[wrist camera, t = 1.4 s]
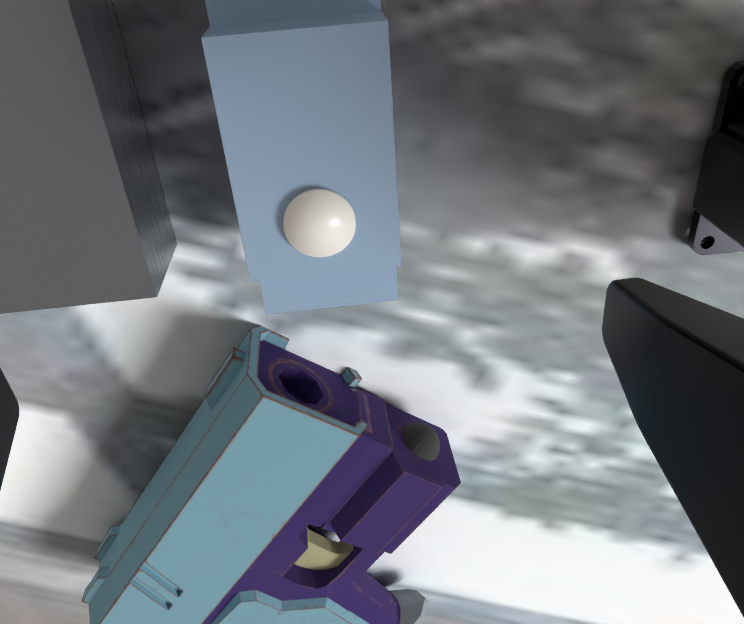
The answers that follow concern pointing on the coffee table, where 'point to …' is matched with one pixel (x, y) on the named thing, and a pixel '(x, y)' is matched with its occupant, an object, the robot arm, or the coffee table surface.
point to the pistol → (276, 503)
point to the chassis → (74, 163)
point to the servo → (309, 146)
